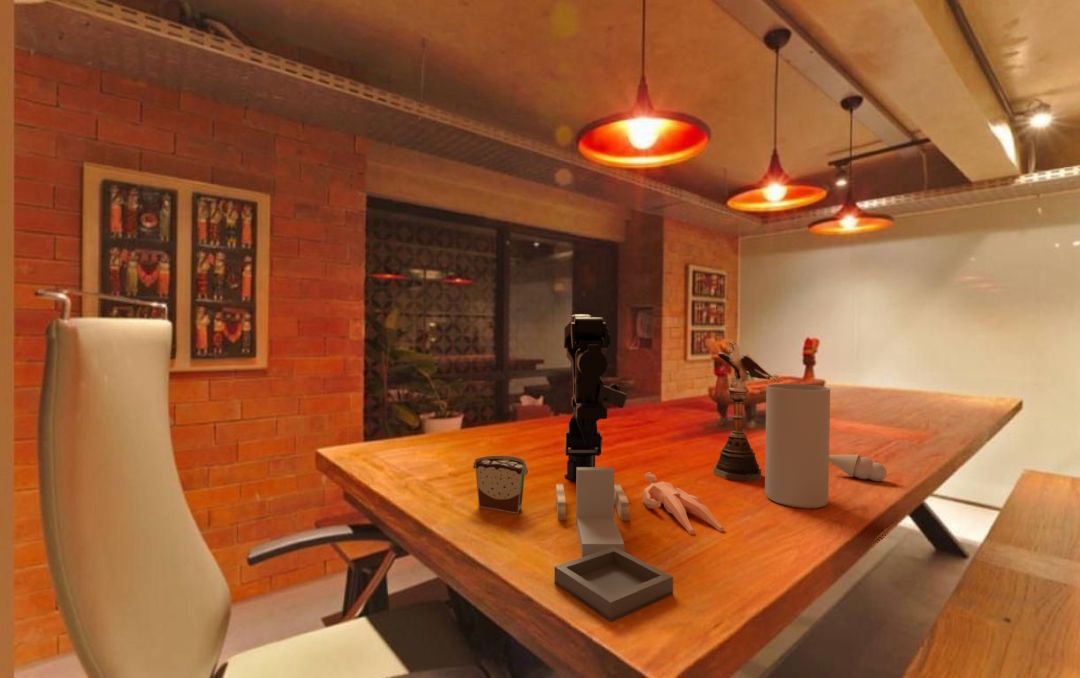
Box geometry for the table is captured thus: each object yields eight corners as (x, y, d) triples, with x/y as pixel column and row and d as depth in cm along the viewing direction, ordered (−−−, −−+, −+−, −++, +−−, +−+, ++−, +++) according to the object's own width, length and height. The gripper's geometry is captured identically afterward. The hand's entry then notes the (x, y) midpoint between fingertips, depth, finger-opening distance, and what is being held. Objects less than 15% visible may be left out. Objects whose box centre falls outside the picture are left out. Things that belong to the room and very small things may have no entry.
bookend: (576, 523, 98) (576, 467, 97) (612, 524, 98) (612, 467, 97) (582, 555, 84) (582, 489, 84) (624, 556, 84) (624, 490, 84)
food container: (537, 505, 108) (538, 458, 107) (524, 515, 102) (525, 465, 102) (487, 497, 113) (487, 452, 112) (472, 505, 107) (472, 458, 107)
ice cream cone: (816, 470, 135) (883, 491, 126) (815, 459, 131) (884, 480, 121) (823, 450, 137) (889, 469, 128) (822, 439, 133) (890, 458, 124)
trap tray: (614, 561, 82) (614, 546, 81) (672, 594, 72) (673, 576, 72) (554, 583, 75) (554, 566, 75) (610, 621, 65) (610, 602, 65)
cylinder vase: (834, 499, 112) (836, 387, 112) (819, 514, 103) (821, 392, 103) (775, 487, 121) (777, 382, 120) (756, 499, 112) (757, 387, 111)
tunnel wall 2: (612, 499, 111) (612, 484, 111) (619, 499, 111) (619, 484, 111) (621, 520, 99) (621, 502, 99) (629, 520, 99) (629, 502, 99)
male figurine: (682, 519, 92) (626, 470, 116) (680, 545, 92) (625, 491, 116) (734, 514, 94) (669, 467, 119) (732, 540, 95) (668, 488, 119)
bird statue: (749, 463, 142) (750, 339, 141) (786, 476, 129) (788, 340, 129) (700, 469, 136) (701, 339, 135) (734, 483, 124) (736, 340, 123)
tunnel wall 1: (555, 499, 111) (556, 483, 111) (562, 499, 111) (562, 483, 111) (557, 520, 99) (558, 502, 99) (565, 520, 99) (565, 502, 99)
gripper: (632, 378, 102) (631, 455, 103) (618, 370, 121) (617, 435, 121) (577, 378, 102) (576, 454, 103) (571, 370, 121) (571, 435, 121)
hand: (587, 444), depth 112 cm, fingers closed
